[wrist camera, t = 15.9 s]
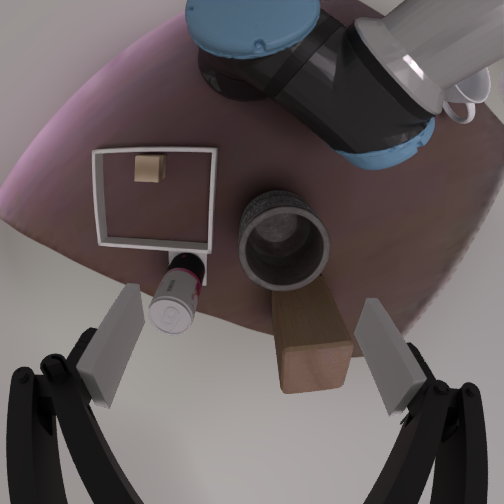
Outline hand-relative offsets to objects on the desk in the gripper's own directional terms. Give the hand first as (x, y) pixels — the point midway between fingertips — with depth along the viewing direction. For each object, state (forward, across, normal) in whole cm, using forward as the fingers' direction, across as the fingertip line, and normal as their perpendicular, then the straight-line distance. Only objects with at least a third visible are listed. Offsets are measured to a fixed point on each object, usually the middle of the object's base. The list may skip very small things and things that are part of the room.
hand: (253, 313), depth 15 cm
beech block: (+33, -16, +3) cm, 37 cm away
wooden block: (+33, +11, -20) cm, 40 cm away
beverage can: (+32, -10, -15) cm, 37 cm away
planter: (+33, +5, -5) cm, 34 cm away
